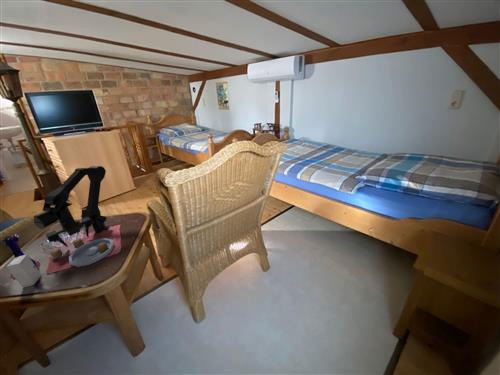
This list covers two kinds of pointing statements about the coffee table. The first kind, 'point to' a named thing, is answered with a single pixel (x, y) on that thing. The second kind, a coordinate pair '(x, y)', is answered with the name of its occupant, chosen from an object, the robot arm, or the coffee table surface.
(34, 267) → the skincare box
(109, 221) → the coffee table surface
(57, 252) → the bead
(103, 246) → the wooden rounded peg
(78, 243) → the bead
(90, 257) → the groove tray
